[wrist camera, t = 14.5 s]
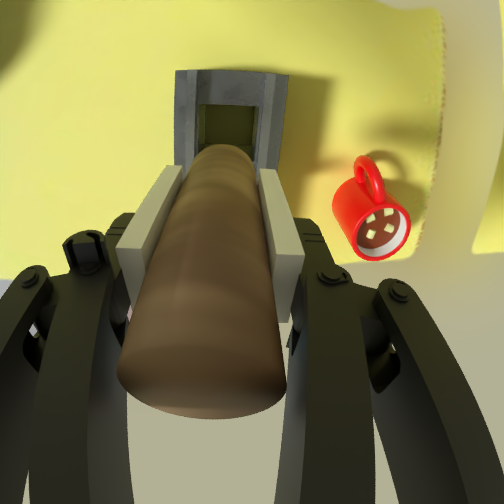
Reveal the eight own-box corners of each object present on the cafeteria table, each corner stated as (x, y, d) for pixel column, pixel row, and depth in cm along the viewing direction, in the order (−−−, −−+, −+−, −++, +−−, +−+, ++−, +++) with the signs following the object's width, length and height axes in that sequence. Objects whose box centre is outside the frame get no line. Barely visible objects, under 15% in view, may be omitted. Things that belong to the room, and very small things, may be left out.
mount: (184, 169, 32) (173, 194, 26) (186, 71, 25) (172, 70, 19) (268, 173, 33) (275, 198, 27) (279, 75, 26) (291, 75, 20)
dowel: (190, 203, 16) (139, 412, 6) (189, 143, 14) (92, 334, 4) (252, 206, 16) (273, 419, 6) (257, 146, 14) (304, 346, 4)
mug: (377, 141, 30) (409, 161, 24) (385, 219, 37) (410, 251, 31) (320, 154, 32) (342, 178, 25) (336, 233, 39) (354, 269, 32)
